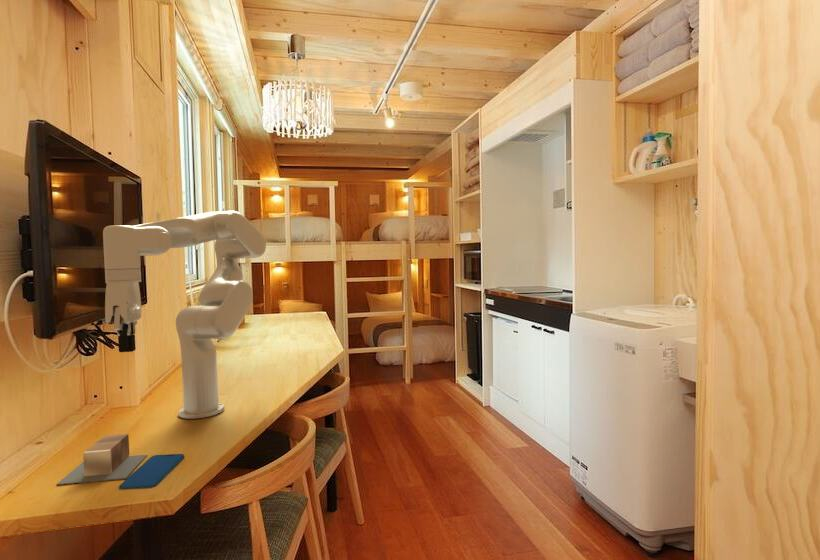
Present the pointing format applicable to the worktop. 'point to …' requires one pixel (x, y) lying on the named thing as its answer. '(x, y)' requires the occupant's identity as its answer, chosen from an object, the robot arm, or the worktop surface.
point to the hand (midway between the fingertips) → (127, 351)
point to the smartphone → (152, 471)
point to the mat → (117, 474)
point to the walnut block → (106, 455)
